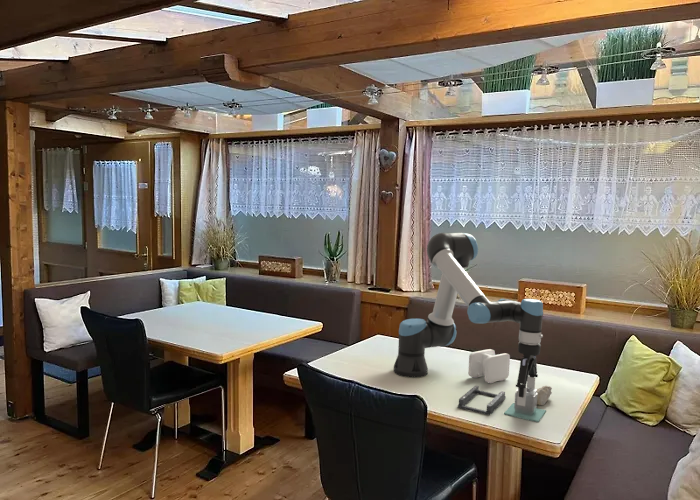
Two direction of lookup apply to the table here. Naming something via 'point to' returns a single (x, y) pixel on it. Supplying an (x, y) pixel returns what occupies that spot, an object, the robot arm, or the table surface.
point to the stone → (543, 395)
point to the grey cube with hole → (527, 402)
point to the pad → (535, 417)
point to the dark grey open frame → (475, 390)
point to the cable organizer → (489, 365)
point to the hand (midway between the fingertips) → (525, 399)
